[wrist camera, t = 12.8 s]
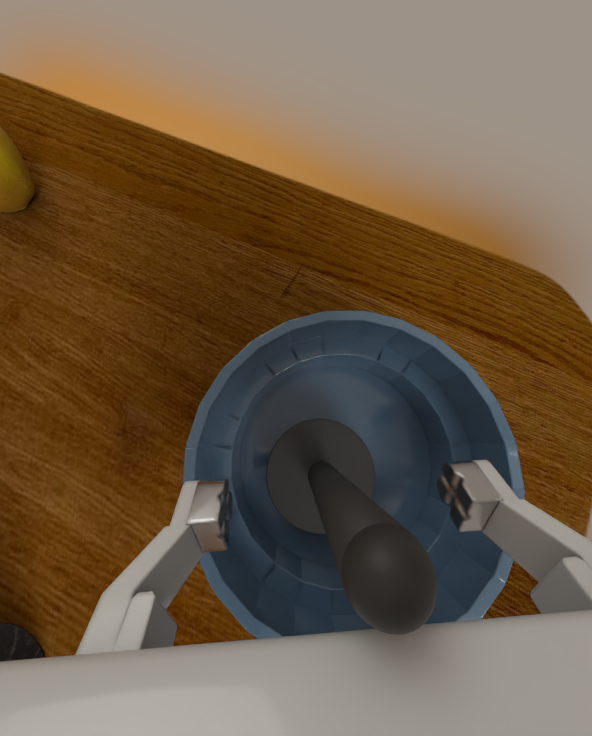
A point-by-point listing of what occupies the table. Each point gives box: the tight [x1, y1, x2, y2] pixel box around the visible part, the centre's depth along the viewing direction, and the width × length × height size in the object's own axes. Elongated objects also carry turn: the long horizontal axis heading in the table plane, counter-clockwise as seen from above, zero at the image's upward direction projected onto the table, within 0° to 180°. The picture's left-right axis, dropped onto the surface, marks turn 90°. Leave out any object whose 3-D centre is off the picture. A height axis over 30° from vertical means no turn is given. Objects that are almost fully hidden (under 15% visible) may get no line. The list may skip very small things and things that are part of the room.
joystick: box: [266, 419, 437, 635], centre depth 12 cm, size 6×6×15 cm
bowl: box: [182, 311, 524, 639], centre depth 17 cm, size 16×16×6 cm
